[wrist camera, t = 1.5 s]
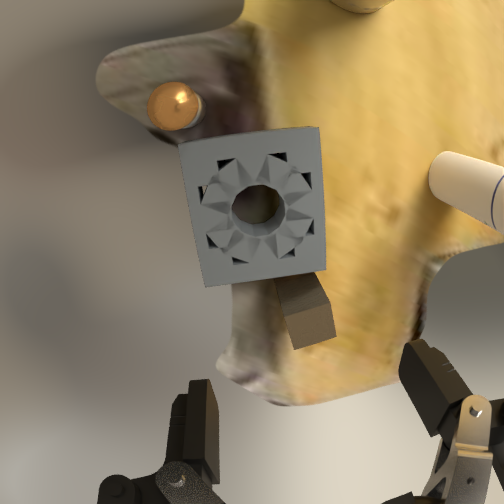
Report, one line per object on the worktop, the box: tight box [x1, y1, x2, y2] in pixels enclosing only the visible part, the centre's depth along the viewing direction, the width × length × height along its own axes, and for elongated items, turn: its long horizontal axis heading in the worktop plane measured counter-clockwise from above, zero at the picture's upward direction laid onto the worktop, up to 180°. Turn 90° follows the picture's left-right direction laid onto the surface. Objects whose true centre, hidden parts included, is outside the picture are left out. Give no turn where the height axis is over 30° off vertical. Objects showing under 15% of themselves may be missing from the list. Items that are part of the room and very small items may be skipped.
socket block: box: [178, 126, 326, 287], centre depth 34 cm, size 16×14×4 cm
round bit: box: [147, 82, 206, 131], centre depth 26 cm, size 4×4×10 cm
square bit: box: [274, 272, 336, 350], centre depth 36 cm, size 5×5×9 cm
